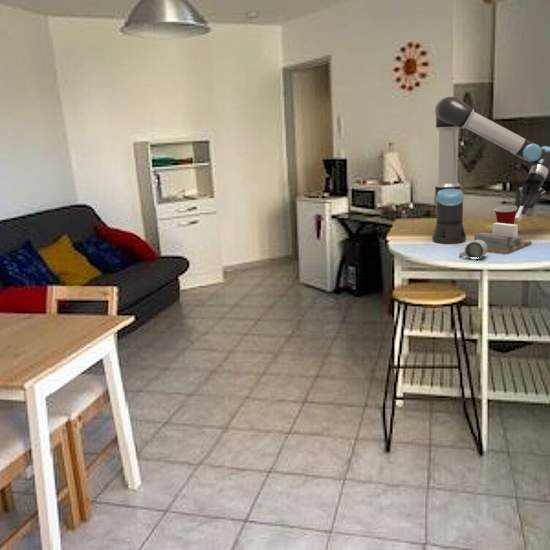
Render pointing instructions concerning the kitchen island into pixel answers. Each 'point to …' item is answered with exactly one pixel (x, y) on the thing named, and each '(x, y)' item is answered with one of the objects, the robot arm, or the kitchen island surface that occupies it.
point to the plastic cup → (505, 214)
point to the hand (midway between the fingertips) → (517, 219)
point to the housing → (501, 242)
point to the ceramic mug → (475, 249)
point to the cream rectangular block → (505, 229)
